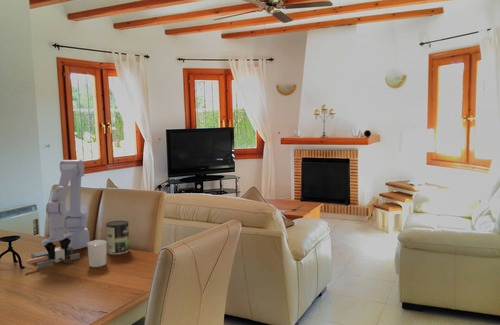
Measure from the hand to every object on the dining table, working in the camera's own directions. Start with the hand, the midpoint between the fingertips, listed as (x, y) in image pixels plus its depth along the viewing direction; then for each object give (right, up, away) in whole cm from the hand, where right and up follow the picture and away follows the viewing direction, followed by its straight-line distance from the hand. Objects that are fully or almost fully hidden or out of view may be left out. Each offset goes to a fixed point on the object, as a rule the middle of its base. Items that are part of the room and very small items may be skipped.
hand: (58, 257), depth 180 cm
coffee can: (+23, -1, +14) cm, 26 cm away
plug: (+2, -2, -2) cm, 3 cm away
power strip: (-2, -2, +1) cm, 3 cm away
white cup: (+20, -2, -5) cm, 21 cm away
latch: (-4, 0, -10) cm, 11 cm away
